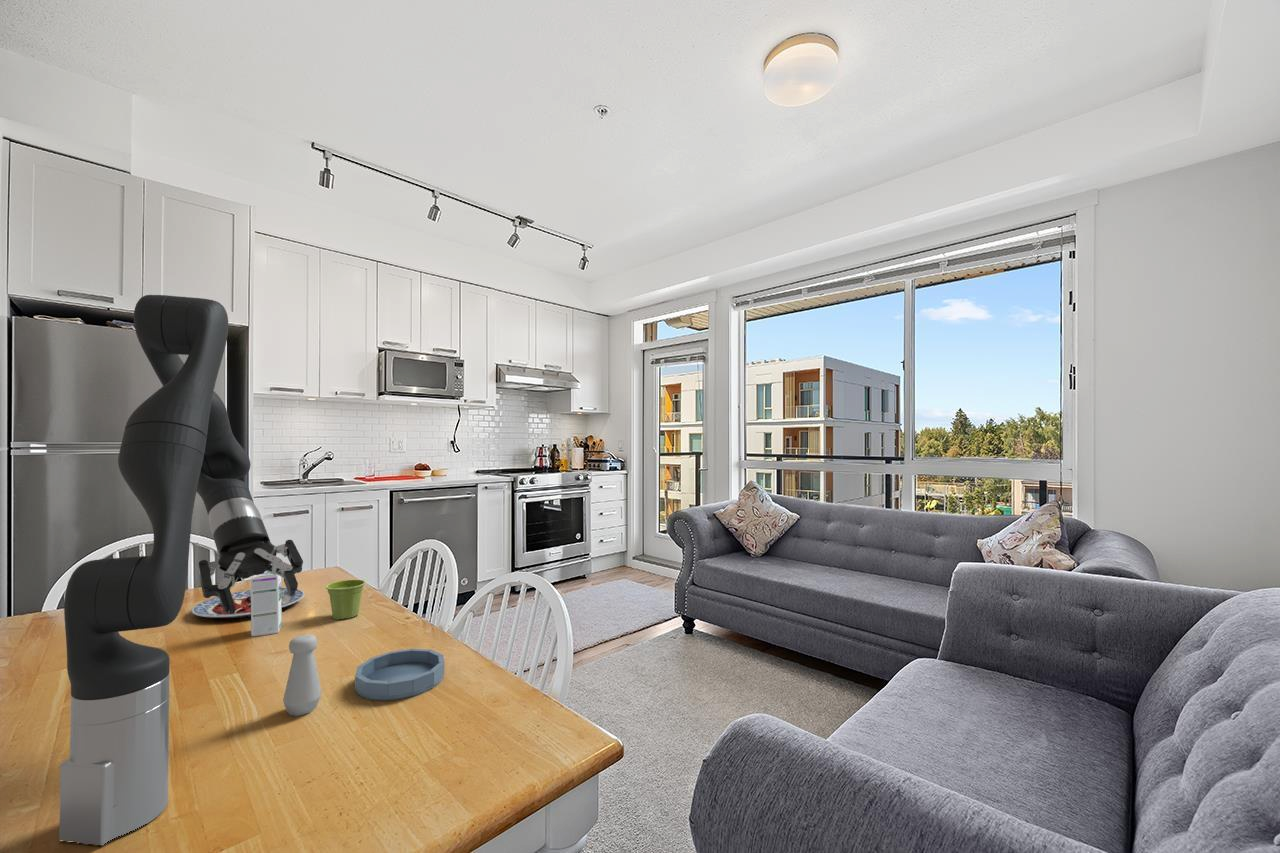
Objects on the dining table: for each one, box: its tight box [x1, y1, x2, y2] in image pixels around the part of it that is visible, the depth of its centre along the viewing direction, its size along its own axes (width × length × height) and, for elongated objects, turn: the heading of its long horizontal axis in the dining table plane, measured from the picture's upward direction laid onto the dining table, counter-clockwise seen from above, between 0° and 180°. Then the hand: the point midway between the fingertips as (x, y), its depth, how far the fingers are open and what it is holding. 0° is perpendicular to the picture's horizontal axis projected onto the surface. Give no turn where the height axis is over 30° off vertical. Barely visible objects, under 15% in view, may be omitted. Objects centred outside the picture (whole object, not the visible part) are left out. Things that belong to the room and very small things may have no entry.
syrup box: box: [250, 571, 283, 637], centre depth 136 cm, size 6×6×14 cm
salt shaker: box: [283, 634, 323, 717], centre depth 98 cm, size 6×6×13 cm
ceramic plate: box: [191, 587, 305, 619], centre depth 154 cm, size 26×26×3 cm
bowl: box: [354, 648, 445, 702], centre depth 109 cm, size 16×16×3 cm
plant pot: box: [325, 579, 366, 620], centre depth 148 cm, size 9×9×9 cm
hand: (263, 601), depth 92 cm, fingers open, 8 cm apart
